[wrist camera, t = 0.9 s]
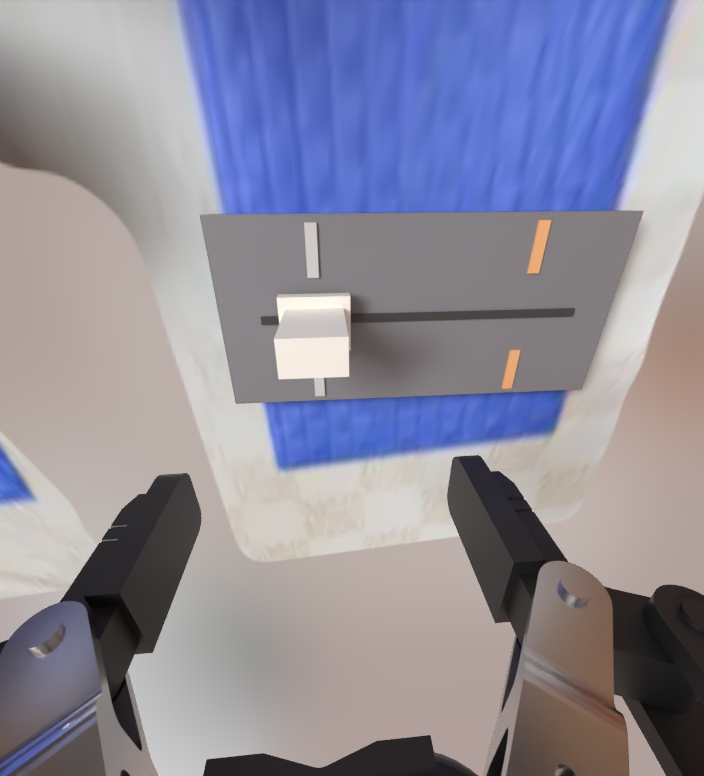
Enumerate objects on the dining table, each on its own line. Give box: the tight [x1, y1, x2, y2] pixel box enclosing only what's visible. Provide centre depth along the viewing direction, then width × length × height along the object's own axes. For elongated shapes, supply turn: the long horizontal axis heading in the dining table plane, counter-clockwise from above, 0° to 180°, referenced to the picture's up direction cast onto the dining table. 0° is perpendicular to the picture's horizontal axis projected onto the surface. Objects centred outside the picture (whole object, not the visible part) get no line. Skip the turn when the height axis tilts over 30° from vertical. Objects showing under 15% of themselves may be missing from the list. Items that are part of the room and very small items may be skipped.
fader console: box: [200, 210, 643, 404], centre depth 27 cm, size 14×30×3 cm, turn 90°
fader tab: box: [274, 293, 351, 379], centre depth 22 cm, size 4×5×7 cm
